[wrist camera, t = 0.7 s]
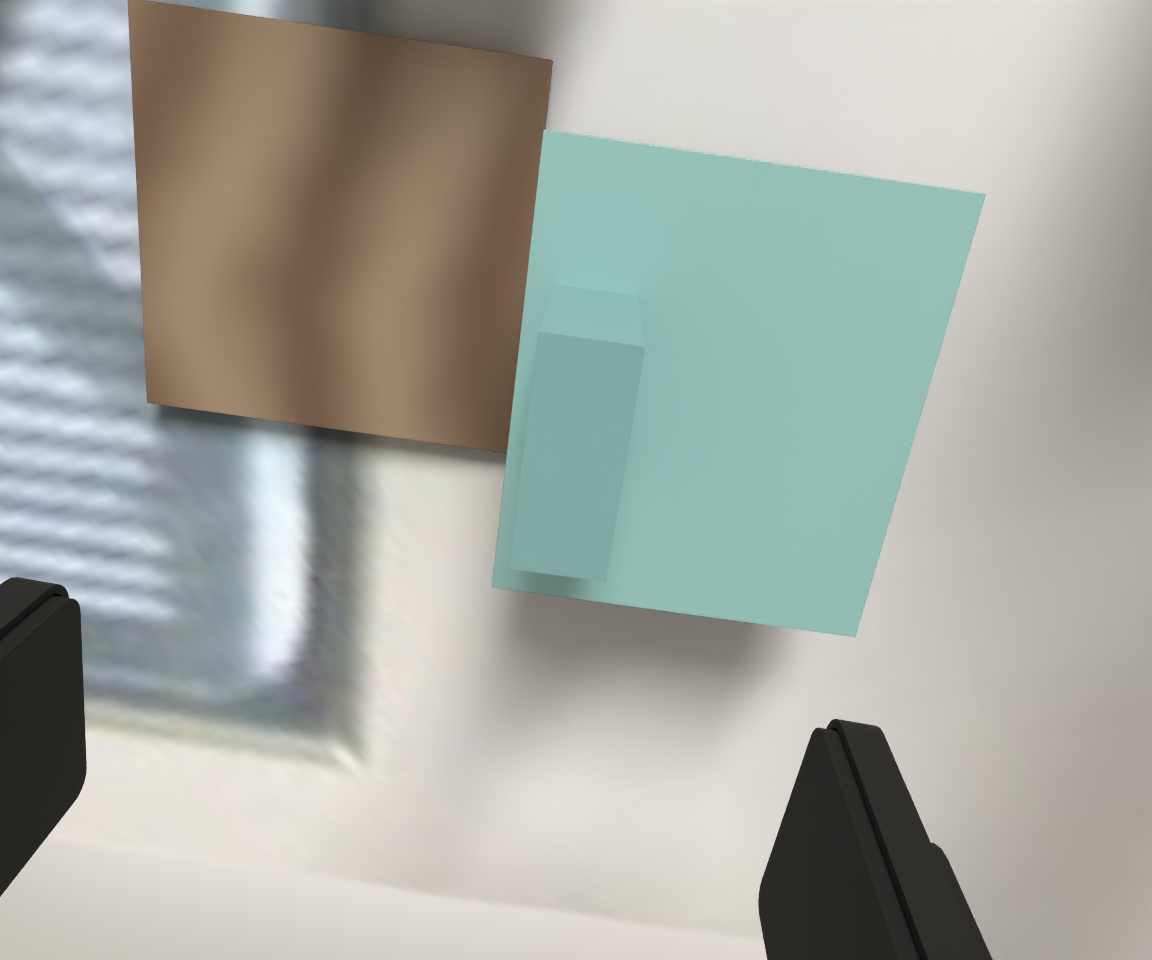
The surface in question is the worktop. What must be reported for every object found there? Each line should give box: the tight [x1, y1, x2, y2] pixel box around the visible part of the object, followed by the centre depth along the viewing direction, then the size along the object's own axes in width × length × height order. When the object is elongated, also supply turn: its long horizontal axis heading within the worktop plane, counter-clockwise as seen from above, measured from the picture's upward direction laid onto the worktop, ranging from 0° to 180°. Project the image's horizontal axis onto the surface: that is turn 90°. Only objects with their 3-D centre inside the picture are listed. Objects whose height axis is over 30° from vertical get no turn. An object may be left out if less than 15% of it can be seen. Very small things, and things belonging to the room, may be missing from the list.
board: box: [128, 0, 553, 453], centre depth 33 cm, size 14×14×1 cm
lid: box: [492, 129, 986, 637], centre depth 25 cm, size 12×14×8 cm
